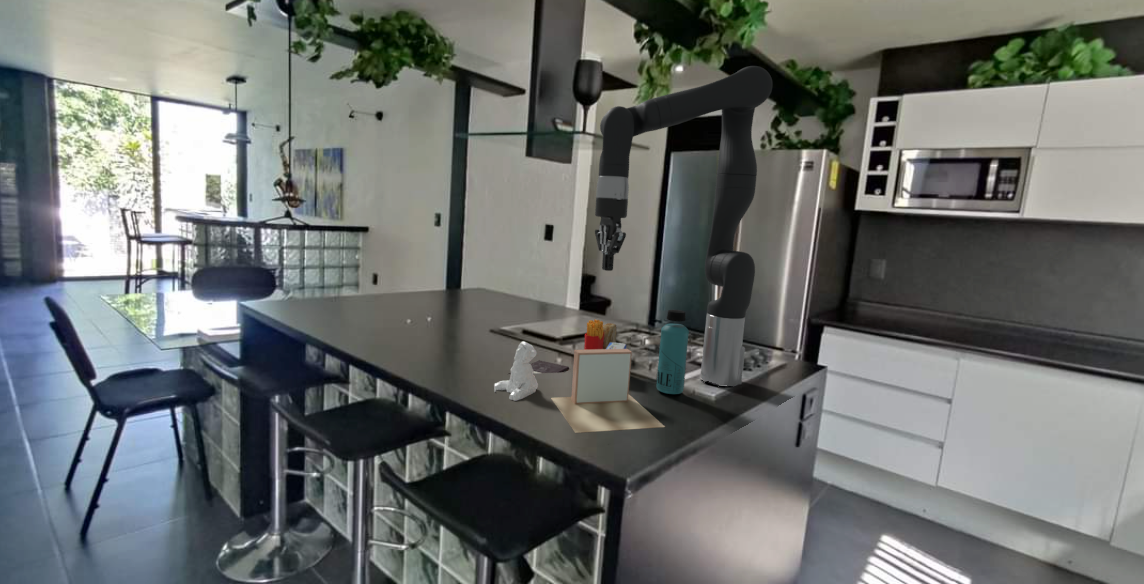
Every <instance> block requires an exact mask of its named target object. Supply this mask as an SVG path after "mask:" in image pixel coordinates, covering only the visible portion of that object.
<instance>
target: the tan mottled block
mask: <svg viewBox="0 0 1144 584" xmlns="http://www.w3.org/2000/svg"><path fill="white" fill-rule="evenodd" d="M603 329H604V341H603V349H606V348H607V347H608V345H609V343H617V339H616V338H617V324H615V323H611V322H609V323H608V322H607V323H605V324H603Z"/></svg>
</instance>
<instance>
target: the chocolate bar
mask: <svg viewBox="0 0 1144 584" xmlns="http://www.w3.org/2000/svg"><path fill="white" fill-rule="evenodd" d="M530 364H531V366H532V369H533V373H534V374H556V373H558V374H559V373H561V374H562V373H563V372H565V371H567V370H569V369H570V366H568V365H567V366H566V365H564V364H558V363H553V362H549V361H545V360H544V361H543V360H540V359H539V360H537V361H535V362H532V363H530ZM508 375H511V372H509V373H508Z"/></svg>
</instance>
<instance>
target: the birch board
mask: <svg viewBox="0 0 1144 584" xmlns="http://www.w3.org/2000/svg"><path fill="white" fill-rule="evenodd" d="M550 399H551V400H552V402H553V403H554V405H555V406H556V407H557V409H558V410H559V411H560V413H561V415H562V416H563V417H564V419H565V420H566V422H567V423H568V425H569V426H570V428H571V429H572V430H573V432H574V433H575V434H580V433H581V434H583V433H595V432H596V433H597V432H609V431H610V432H612V431H627V430H639V429H640V430H641V429H654V428H655V429H656V428H658V429H659V428H666V426H665V425H663V423H662V422H661V421H659V420H658V419H657V418H656V417H655V416H654V415H652V414H651V413H650V412H649V410H647V409H646V408H645V407H643V405H641V404H640V403H639V402H638V401H637V400H636V399H635V398H634V397H633V396H632V395H630V394H629V393H628V401H626V402H606V403H586V404H574V403H573V402H572V400H571V396H559V397H551V398H550Z"/></svg>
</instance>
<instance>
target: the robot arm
mask: <svg viewBox="0 0 1144 584" xmlns="http://www.w3.org/2000/svg"><path fill="white" fill-rule="evenodd" d="M772 90H773V79H772V77H771V75H770V72H768V70H766V69H765V68H763V67H762V66H757V65H750V66H745V67H743V68H741V69H739V70H737V72H735V73H733V74H730V75H728V76H725V77H724V78H721V79H719V80H716V81H713V82H709V83H707V84H706V83H705V84H704V85H700V86H697V87H694V88H689V89H684V90H680V91H677V92H673V93H668V94H664V95H660V96H657V97H653V98H649V99H647V100H645V101H641V103H639V104H637V105H634V106H630V107H625V106H619V105H618V106H614V107H612V108H610V109H609V110H608V111H606V112H605V114H604V116H602V119H601V120H600V123H599V128H600V133H601V135H602V150H601V154H600V156H599V161H598V162H599V163H598V176H597V177H598V178H597V183H596V193H595V194H596V195H595V209H594V210H595V213H594V214H595V217H598V218H599V217H600V222H599V226H598V227H599V228H598V229H595V230H594V235H595V240H596V245H597V247H598V251H600V252H601V254H602V262H601V269H602V270H603V271H607V272H611V271H613V270H614V260H615V259H614V258H615V255H616V254H619V253H620V251H621V248H622V247H623V243H624V241H625V239H626V238H627V234H626V232H623V231H622V219H625V218H627V217H628V206H629V205H628V204H629V193H630V191H629V190H630V189H629V188H630V185H629V176H630V154H631V149H632V143H633V138H634V137H636V136H640V135H642V134H644V133H648V132H653V131H658V130H661V129H665V128H669V127H672V126H676V125H680V124H682V123H685V122H688V121H691V120H694V119H697V118H698V117H702V116H705V115H708V114H710V113H714V112H717V111H721V136H720V144H719V151H718V152H719V153H718V160H717V161H718V162H717V171H716V179H715V191H714V192H715V193H714V203H713V213H712V222H711V230H710V233H709V240H708V246H707V250H706V255H705V260H704V274H705V277H706V280H707V281H708V282H709V283H710V284H711V285H714V286H718V287H722V292H721V295H720V297H719V298H718V299H713V300H711V301H709V302H708V303H707V308H706V309H707V310H706V318H705V329H704V336H703V337H704V339H703V348H702V358H701V365H700V366H701V367H700V376H701V378H702V379H703V380H704V381H709V382H712V383H716V384H720V385H727V386H733V387H736V386H738V385H742V380H743V372H744V365H745V364H744V363H745V354H746V348H745V346H743V340H744V329H745V323H746V322H745V320H746V314H747V310H748V309H749V306H750V304H751V299H752V295H753V294H752V293H753V288H754V283H755V275H756V265H755V261H754V258H753V256H752V255H750V254H749V253H747V252H744V251H738V250H734V243H735V236H736V231H737V228H738V227H739V224H740V223H741V221H742V219H743V217H744V216H745V214H746V213H747V211H748V210H749V209H750V206H751V205H752V202H753V201H754V198H755V194H756V185H757V177H758V175H757V174H758V173H757V172H758V165H757V158H756V153H755V149H754V145H753V139H752V130H753V123H754V122H753V121H754V115H755V110H756V108H757V107H759V106H761V105H763V103H764V102H766V101H767V100H768V98H769V97H770V95H771V93H772Z"/></svg>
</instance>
